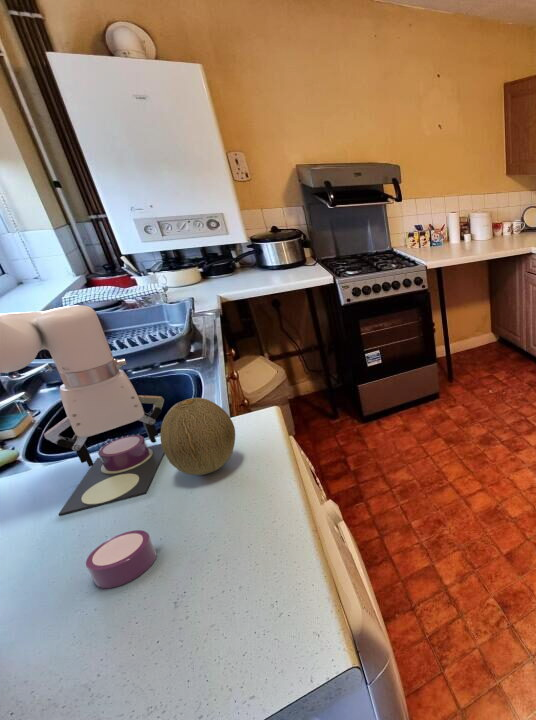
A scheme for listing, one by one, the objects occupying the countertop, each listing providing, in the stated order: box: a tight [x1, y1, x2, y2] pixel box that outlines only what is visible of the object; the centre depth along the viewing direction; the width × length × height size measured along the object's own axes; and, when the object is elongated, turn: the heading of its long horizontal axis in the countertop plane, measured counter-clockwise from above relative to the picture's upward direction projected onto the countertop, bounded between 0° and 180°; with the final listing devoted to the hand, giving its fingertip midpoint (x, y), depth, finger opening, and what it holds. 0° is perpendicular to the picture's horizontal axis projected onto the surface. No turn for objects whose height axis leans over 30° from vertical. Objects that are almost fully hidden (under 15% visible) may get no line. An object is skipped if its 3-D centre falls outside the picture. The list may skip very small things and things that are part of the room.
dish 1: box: [97, 434, 150, 471], centre depth 86 cm, size 7×7×4 cm
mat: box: [57, 443, 165, 516], centre depth 83 cm, size 12×17×1 cm
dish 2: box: [85, 529, 157, 589], centre depth 63 cm, size 7×7×4 cm
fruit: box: [160, 397, 236, 476], centre depth 82 cm, size 11×11×15 cm
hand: (122, 451), depth 86 cm, fingers open, 9 cm apart
